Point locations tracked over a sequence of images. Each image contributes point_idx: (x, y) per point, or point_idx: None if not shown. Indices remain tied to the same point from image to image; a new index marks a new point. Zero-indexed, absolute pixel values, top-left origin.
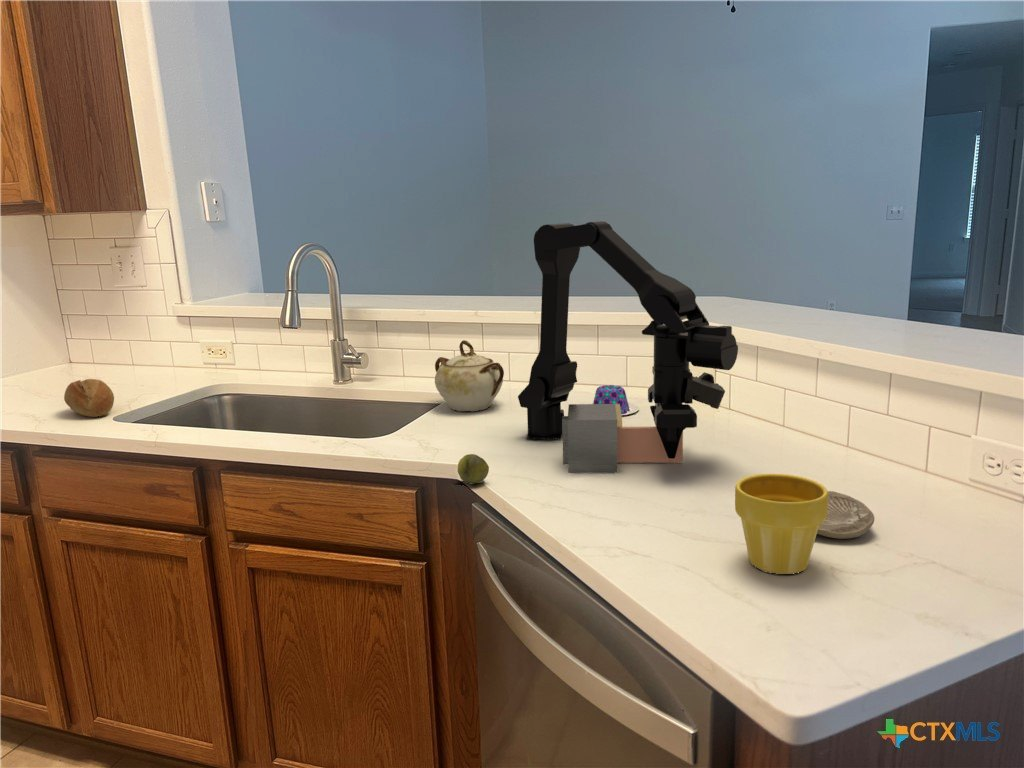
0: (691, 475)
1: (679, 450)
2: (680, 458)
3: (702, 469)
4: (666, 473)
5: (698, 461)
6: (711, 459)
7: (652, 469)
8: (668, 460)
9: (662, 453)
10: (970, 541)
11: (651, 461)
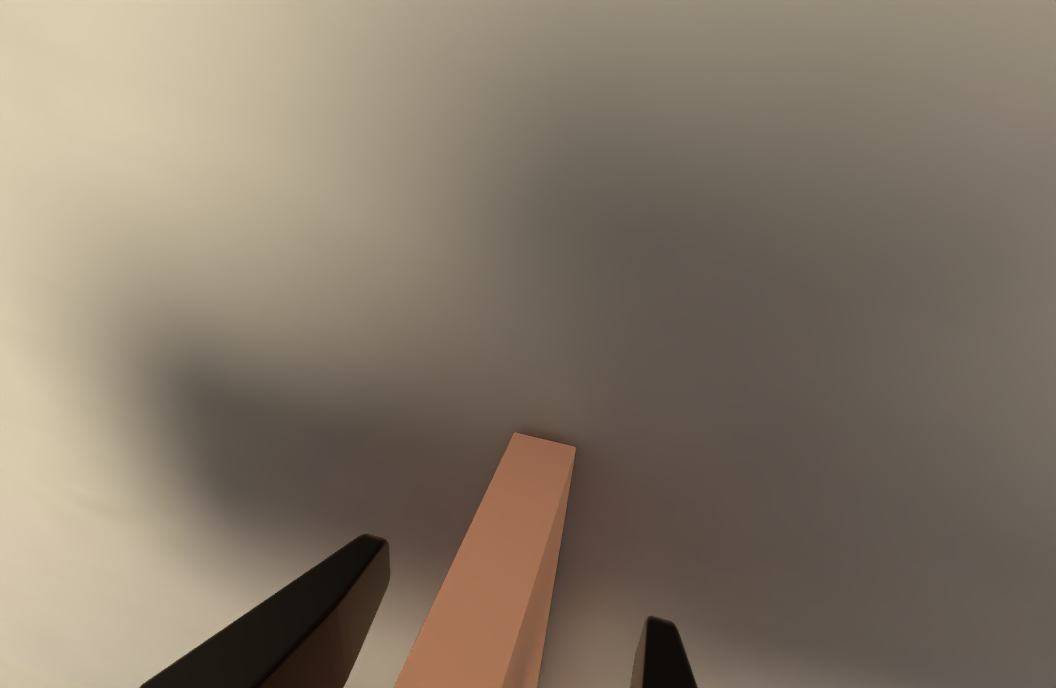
0: (1004, 491)
1: (540, 579)
2: (565, 493)
3: (832, 307)
4: (830, 645)
5: (521, 257)
6: (455, 63)
7: None
8: (554, 564)
9: (531, 668)
10: None
11: (541, 655)
